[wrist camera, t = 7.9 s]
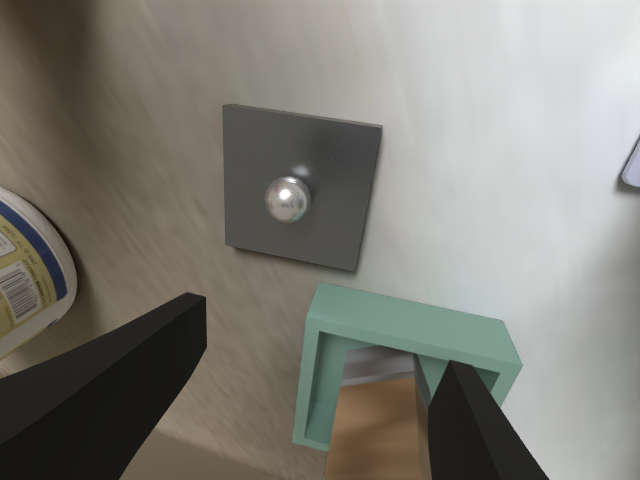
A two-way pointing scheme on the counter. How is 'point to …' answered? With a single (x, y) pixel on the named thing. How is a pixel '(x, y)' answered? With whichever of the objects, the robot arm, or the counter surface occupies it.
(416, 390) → the strut
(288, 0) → the counter surface
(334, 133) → the base
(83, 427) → the robot arm
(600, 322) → the counter surface
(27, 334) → the supplement tub
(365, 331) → the bin
